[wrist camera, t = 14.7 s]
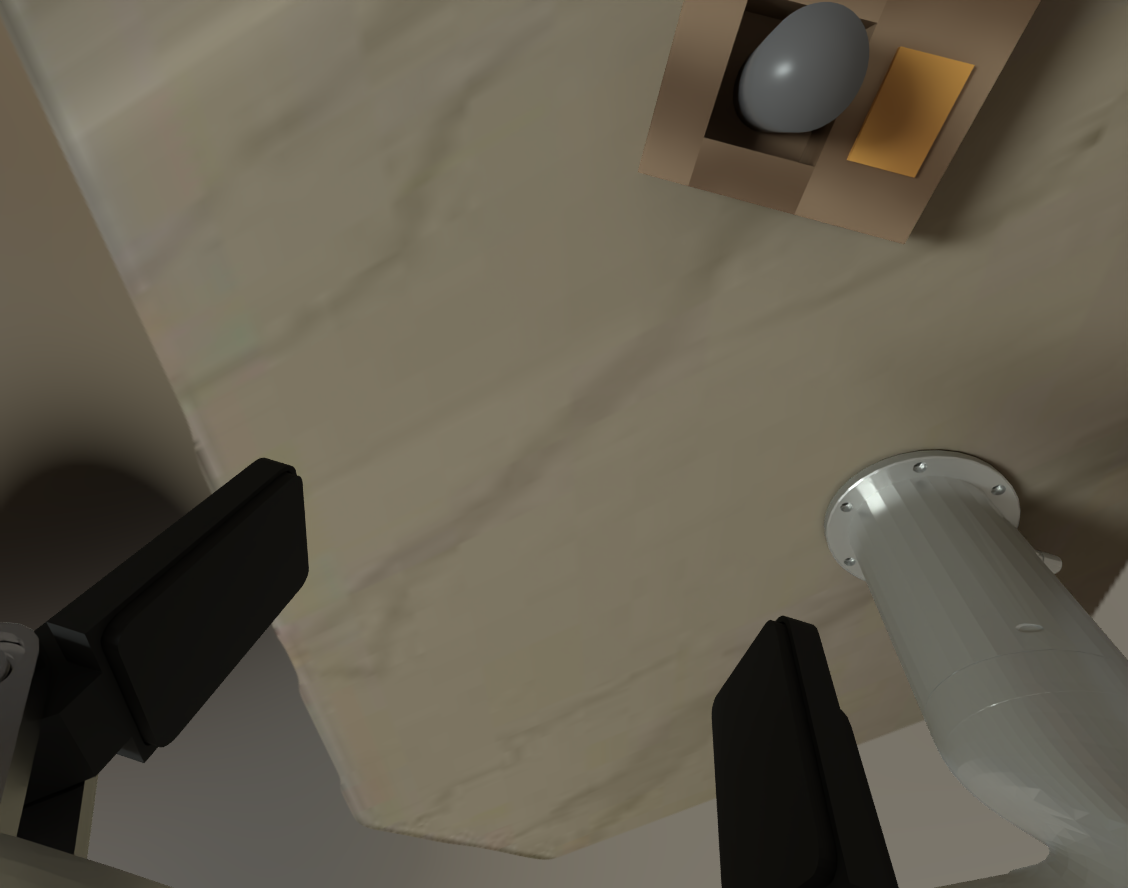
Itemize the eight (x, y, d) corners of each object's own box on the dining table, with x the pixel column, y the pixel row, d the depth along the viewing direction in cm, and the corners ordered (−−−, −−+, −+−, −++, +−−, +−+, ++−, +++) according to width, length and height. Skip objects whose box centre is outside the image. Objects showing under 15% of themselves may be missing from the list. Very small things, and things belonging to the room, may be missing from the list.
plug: (828, 50, 26) (891, 16, 18) (793, 140, 28) (836, 143, 20) (751, 31, 26) (781, -11, 18) (721, 122, 28) (737, 118, 21)
